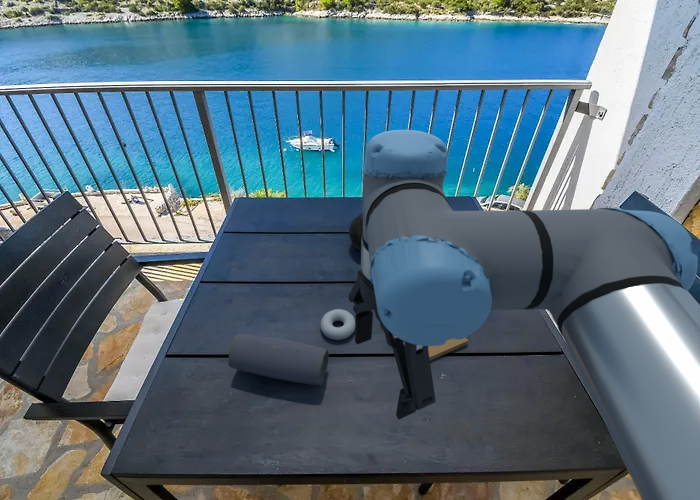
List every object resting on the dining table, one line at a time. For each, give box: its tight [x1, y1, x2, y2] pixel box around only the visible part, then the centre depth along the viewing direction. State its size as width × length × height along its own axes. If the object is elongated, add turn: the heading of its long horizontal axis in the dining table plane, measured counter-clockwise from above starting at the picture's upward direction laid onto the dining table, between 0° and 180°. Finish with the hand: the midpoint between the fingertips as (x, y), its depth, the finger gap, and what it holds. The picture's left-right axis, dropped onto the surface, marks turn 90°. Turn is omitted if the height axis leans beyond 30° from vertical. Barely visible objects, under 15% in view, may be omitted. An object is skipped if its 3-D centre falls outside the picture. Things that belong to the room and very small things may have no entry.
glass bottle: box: [348, 212, 363, 252], centre depth 119 cm, size 18×18×28 cm
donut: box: [320, 308, 355, 341], centre depth 98 cm, size 10×4×10 cm
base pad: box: [428, 337, 469, 361], centre depth 97 cm, size 16×18×2 cm
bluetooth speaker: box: [227, 333, 330, 386], centre depth 85 cm, size 23×9×10 cm, turn 78°
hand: (382, 373), depth 53 cm, fingers open, 13 cm apart
